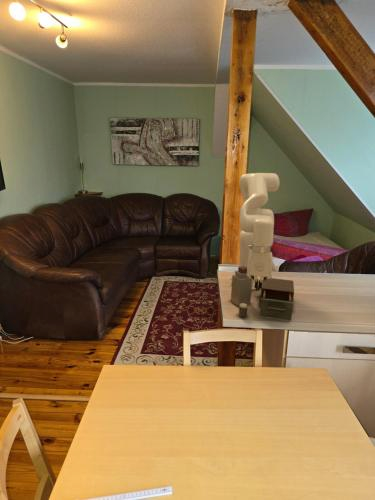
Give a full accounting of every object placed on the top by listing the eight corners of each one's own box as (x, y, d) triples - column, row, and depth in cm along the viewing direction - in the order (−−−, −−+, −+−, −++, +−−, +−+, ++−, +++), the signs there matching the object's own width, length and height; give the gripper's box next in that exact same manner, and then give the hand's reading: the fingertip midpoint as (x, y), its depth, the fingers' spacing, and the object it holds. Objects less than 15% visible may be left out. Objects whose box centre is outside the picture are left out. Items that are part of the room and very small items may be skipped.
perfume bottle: (238, 306, 157) (241, 270, 152) (230, 301, 163) (232, 266, 158) (250, 304, 160) (253, 268, 155) (241, 298, 166) (244, 264, 161)
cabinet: (291, 312, 153) (294, 291, 150) (259, 307, 156) (261, 288, 153) (291, 299, 166) (293, 280, 163) (261, 295, 170) (263, 277, 167)
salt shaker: (238, 317, 147) (238, 305, 145) (239, 313, 150) (239, 302, 149) (246, 318, 146) (247, 307, 144) (247, 314, 149) (248, 303, 148)
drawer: (291, 326, 138) (293, 308, 136) (258, 321, 142) (260, 303, 139) (290, 307, 155) (292, 291, 153) (261, 303, 159) (262, 287, 156)
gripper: (242, 249, 135) (239, 291, 140) (280, 252, 132) (275, 295, 137) (243, 245, 142) (241, 284, 147) (279, 247, 139) (275, 288, 144)
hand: (257, 289), depth 142 cm, fingers closed
